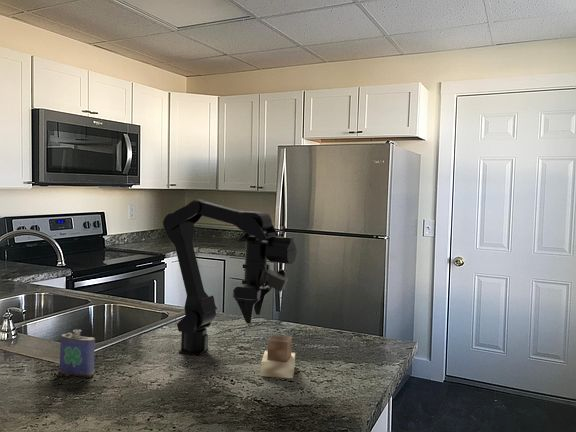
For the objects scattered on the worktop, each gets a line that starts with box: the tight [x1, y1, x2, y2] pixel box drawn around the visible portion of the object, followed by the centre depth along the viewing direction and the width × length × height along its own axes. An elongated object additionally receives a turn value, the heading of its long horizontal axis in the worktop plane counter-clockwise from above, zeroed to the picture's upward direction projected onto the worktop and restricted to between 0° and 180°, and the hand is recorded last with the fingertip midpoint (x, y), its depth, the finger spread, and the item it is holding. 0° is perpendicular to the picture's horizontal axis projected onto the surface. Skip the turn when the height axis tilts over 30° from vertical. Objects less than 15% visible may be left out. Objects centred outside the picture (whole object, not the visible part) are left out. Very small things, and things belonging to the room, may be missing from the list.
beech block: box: [260, 350, 296, 379], centre depth 125 cm, size 8×8×4 cm
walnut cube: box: [267, 334, 293, 362], centre depth 124 cm, size 5×5×5 cm
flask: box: [58, 329, 96, 378], centre depth 117 cm, size 9×3×11 cm, turn 74°
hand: (253, 318), depth 129 cm, fingers open, 9 cm apart
